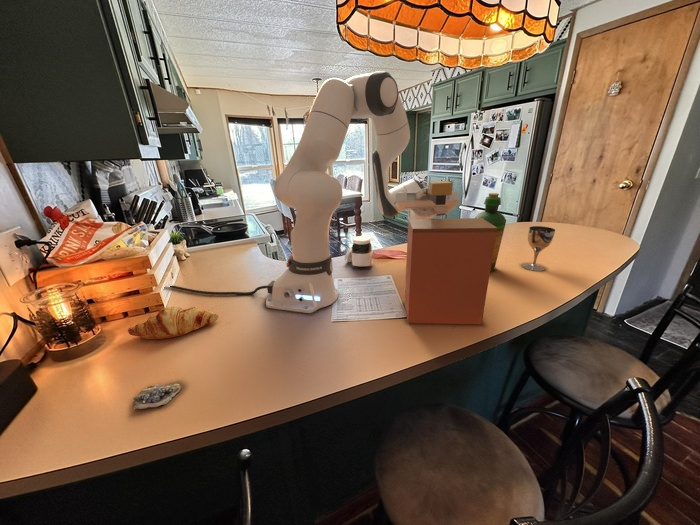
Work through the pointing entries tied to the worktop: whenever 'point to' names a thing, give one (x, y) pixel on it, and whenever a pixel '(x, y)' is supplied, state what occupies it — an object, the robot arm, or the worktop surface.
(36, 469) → the worktop surface
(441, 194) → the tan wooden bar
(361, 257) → the spread jar
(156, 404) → the crystal geode
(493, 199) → the bottle
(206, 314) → the croissant
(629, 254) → the worktop surface
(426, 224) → the stand
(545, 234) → the silver goblet
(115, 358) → the worktop surface
